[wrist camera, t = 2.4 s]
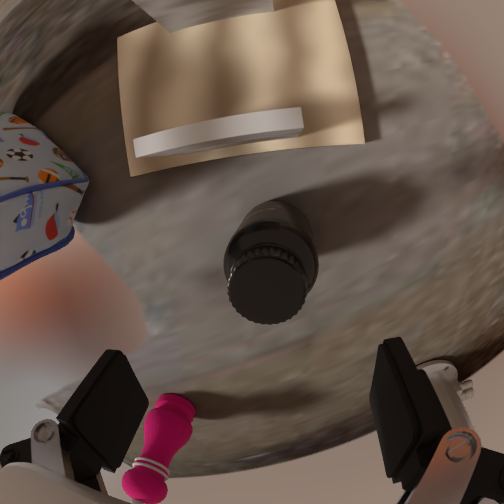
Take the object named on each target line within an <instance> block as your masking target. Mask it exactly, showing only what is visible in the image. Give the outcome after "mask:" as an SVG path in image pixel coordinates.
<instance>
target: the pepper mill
mask: <svg viewBox="0 0 504 504" xmlns="http://www.w3.org/2000/svg"><path fill="white" fill-rule="evenodd" d="M194 415H195V408H194V406H193V405H192V403H190V402H189V401H188V400H187V399H185V398H183V397H181V396H178V395H175V394H163V395H161V396H160V397H159V399H158V401H157V403H156V405H155V409H152V410H151V411H149V412H148V414H147V417H146V419H145V425H144V432H145V444H144V448H143V451H142V453H141V455H140V457H137V458H135V462H134V463H133V467H134V468H133V469H130V470H128V471H127V472H125V474H124V475H123V478H122V487H123V489H124V491H125V492H126V494H128V495H129V496H130V497H131V498H133V500H131V502H130V503H131V504H143V503H145V504H157V503H160V502H161V501H162V500H164V498H165V497H166V495H167V491H168V489H167V485H166V483H165V482H164V481H166V480H168V475H169V474H170V471H169V470H168V467H169V464H170V461H171V459H172V457H173V456H174V455H175V453H176V452H177V451H178V450H179V449H180V448H181V447H183V446H184V445H185V444H186V443H187V441H188V440H189V439H190V437H191V434H192V425H191V422H192V421H193V418H194Z"/></svg>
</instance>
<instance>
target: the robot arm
mask: <svg viewBox="0 0 504 504" xmlns="http://www.w3.org/2000/svg"><path fill="white" fill-rule="evenodd" d="M457 378H458V373H457V370H456V368H455V366H454V365H453V364H452V363H451V362H449V361H447V360H433V361H429V362H426V363H423V364H421V365H419V366H417V367H416V365H415V363H414V361H413V359H412V357H411V356H410V354H409V352H408V350H407V348H406V346H405V344H404V342H403V340H402V338H401V337H395V338H390V339H385V340H384V341H383V344H380V345H379V346H378V352H377V358H376V364H375V370H374V375H373V381H372V386H371V391H370V405H371V409H372V413H373V417H374V421H375V425H376V429H377V434H378V438H379V442H380V447H381V451H382V456H383V461H384V466H385V471H386V475H387V477H388V478H391V477H392V481H393V483H397V482H401V483H402V488H403V489H404V490H405V491H404V492H403V494H402V495H401V497H400V498H399V500H398V501H397V503H396V504H504V454H502V453H499V452H496V451H492V450H489V449H486V448H484V447H483V445H482V443H481V440H480V438H479V436H478V433H477V431H476V429H475V427H474V425H473V423H472V421H471V418H470V416H469V415H468V412H467V410H466V408H465V406H464V404H463V402H462V401H463V400H466V399H469V398H472V397H473V394H474V390H473V388H472V385H473V382H472V380H467V381H464V382H463V383H460V382H458V380H457ZM148 404H149V401H148V398H147V396H146V394H145V393H144V391H143V389H142V387H141V385H140V383H139V381H138V380H137V378H136V376H135V374H134V372H133V370H132V368H131V366H130V364H129V362H128V360H127V357H126V356H125V355H124V354H123V353H122V352H121V351H119V350H110V349H108V350H106V351H105V352H104V353H103V354H102V356H101V357H100V358H99V360H98V361H97V363H96V364H95V365H94V366H93V368H92V369H91V370H90V372H89V373H88V374H87V376H86V377H85V378H84V380H83V381H82V382H81V384H80V385H79V386H78V388H77V389H76V391H75V392H74V393H73V395H72V396H71V398H70V399H69V400H68V402H67V403H66V405H65V406H64V407H63V409H62V410H61V412H60V413H59V415H58V416H57V417H56V418H57V420H58V421H59V422H60V423H59V424H57V423H56V422H55V421H53V420H51V419H45V420H42V421H40V422H38V423H37V424H36V425H35V426H34V427H33V429H32V431H31V438H29V439H26V440H23V441H20V442H16V443H13V444H10V445H8V446H6V447H5V448H3V450H2V452H1V454H0V504H131V503H128V502H125V501H123V500H119V499H117V498H114V497H111V496H109V495H108V494H107V491H106V488H105V485H104V482H103V479H102V476H101V473H100V470H101V468H103V469H104V470H107V471H110V472H113V473H115V471H116V469H117V468H119V467H120V466H121V464H122V462H123V459H124V457H125V455H126V453H127V451H128V448H129V446H130V444H131V442H132V440H133V438H134V435H135V433H136V431H137V429H138V427H139V425H140V423H141V420H142V418H143V416H144V414H145V412H146V410H147V408H148Z"/></svg>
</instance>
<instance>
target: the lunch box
mask: <svg viewBox="0 0 504 504" xmlns="http://www.w3.org/2000/svg"><path fill="white" fill-rule="evenodd" d="M89 182H90V181H89V178H88V176H87V175H86V174H85V173H84V172H83V171H82V170H81V169H80V168H79V167H78V166H77V165H76V164H75V163H74V162H73V161H72V160H71V159H70V158H69V157H68V156H67V155H66V154H65V153H64V152H63V151H62V150H61V149H60V148H59V147H57V146H56V145H55V144H54V143H53V142H52V141H51V140H50V139H49V138H48V136H47V135H46V134H45V133H44V132H43V131H42V130H39V129H38V128H36V127H35V126H33V125H31V124H30V123H28V122H26V121H25V120H23V119H21V118H20V117H18V116H16V115H14V114H10V113H5V112H0V280H1V279H3V278H5V277H7V276H9V275H10V274H12V273H14V272H15V271H17V270H19V269H20V268H22V267H24V266H26V265H28V264H30V263H31V262H33V261H35V260H37V259H39V258H41V257H43V256H46V255H48V254H50V253H53V252H55V251H57V250H59V249H61V248H63V247H65V246H66V245H67V244H68V243H69V242H70V241H71V240H72V239H73V238H74V233H75V230H74V227H73V221H74V218H75V215H76V213H77V210H78V208H79V206H80V203H81V201H82V198H83V195H84V193H85V191H86V188H87V186H88V184H89Z"/></svg>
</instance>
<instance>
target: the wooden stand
mask: <svg viewBox="0 0 504 504" xmlns="http://www.w3.org/2000/svg"><path fill="white" fill-rule="evenodd" d="M132 1H133V2H134V3H135V4H137V5H138V6H139V7H140V8H142V9H143V10H144V11H145V12H146V13H147V14H149V15H150V16H151V17H152V18H153V19H154V20H156V21H157V22H155V23H152V24H149V25H147V26H144V27H142V28H139V29H137V30H134V31H132V32H129V33H127V34H125V35H122V36H120V37H118V38H117V53H118V75H119V90H120V101H121V112H122V121H123V129H124V137H125V144H126V151H127V158H128V164H129V170H130V176H131V177H133V176H138V175H142V174H146V173H151V172H155V171H159V170H164V169H168V168H173V167H178V166H183V165H188V164H193V163H198V162H204V161H209V160H215V159H221V158H227V157H233V156H240V155H247V154H254V153H262V152H270V151H279V150H288V149H298V148H309V147H322V146H337V145H358V144H365V140H364V132H363V124H362V117H361V110H360V104H359V98H358V93H357V87H356V82H355V77H354V72H353V67H352V62H351V58H350V54H349V49H348V45H347V41H346V37H345V34H344V30H343V26H342V23H341V19H340V16H339V12H338V9H337V6H336V3H335V0H132Z"/></svg>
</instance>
